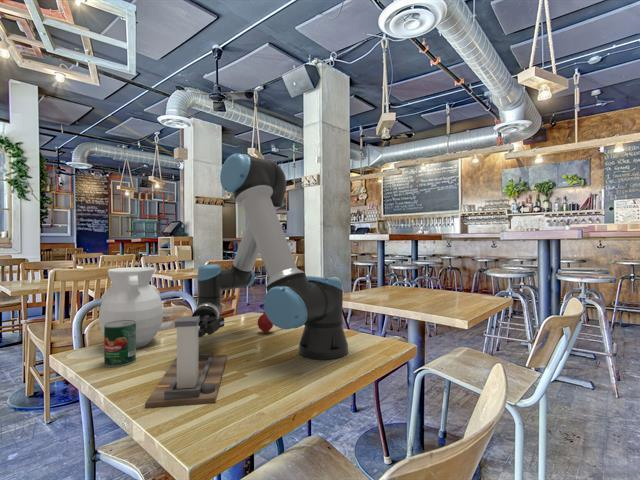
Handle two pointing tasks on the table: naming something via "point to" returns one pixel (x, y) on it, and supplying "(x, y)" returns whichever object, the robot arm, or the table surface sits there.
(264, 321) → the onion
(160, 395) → the brown board with rails
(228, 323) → the table surface
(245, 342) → the table surface
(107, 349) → the canned tomato
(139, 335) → the pitcher
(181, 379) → the grey rectangular block
